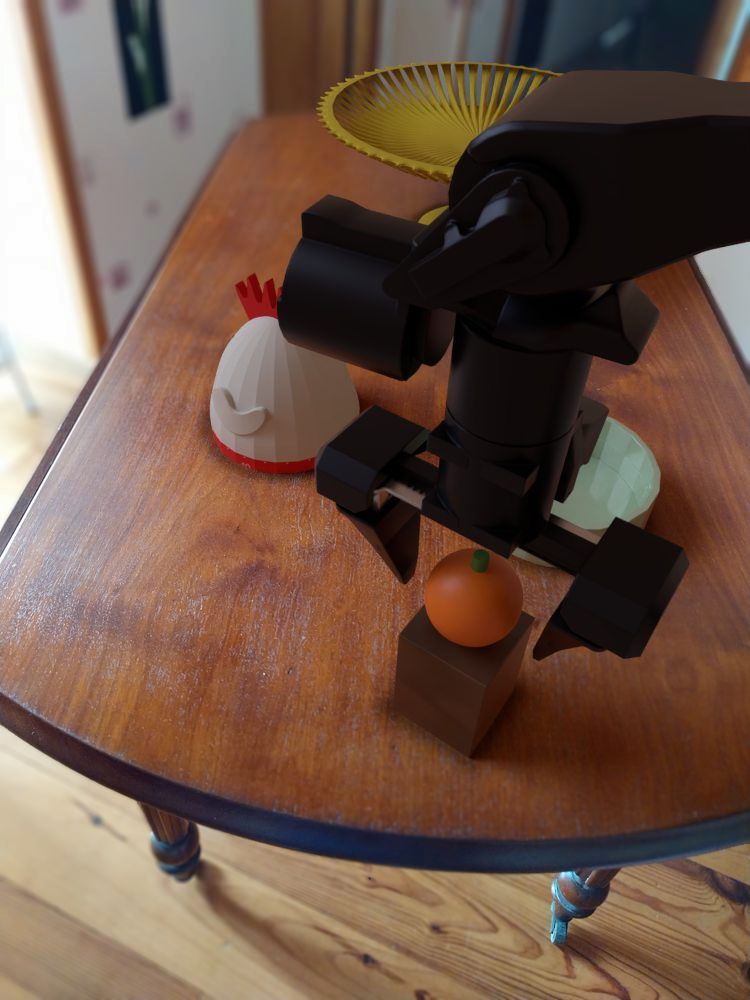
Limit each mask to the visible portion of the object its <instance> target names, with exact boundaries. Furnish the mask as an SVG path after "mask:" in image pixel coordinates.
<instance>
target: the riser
mask: <svg viewBox="0 0 750 1000" xmlns="http://www.w3.org/2000/svg"><path fill="white" fill-rule="evenodd" d="M535 620H536V617H535V616H533V615H531V614H530V613H528V612H527V611H525V610H522V612H521V614H520V617H519V620H518V622H517V623H516V625H515V626H514V628H513V629H512V630H511V631H510V632H509V633H508V634H507V635H506V636H505V637H504V638H502V639H501V640H499V641H497V642H495V643H493V644H490V645H487V646H482V647H468V646H463V645H459V644H457V643H454V642H452V641H450V640H448V639H447V638H445V637H444V636H443V635H442V634H440V633H439V631H438V630H437V629H436V628H435V627H434V625H433V624H432V623H431V621H430V619H429V617H428V614H427V611H426V607H425V603H424V604H423V605H422V606H421V607H420V608H419V609H418V611H417V612H416V613H415V614H414V615H413V617H412V618H411V619H410V620H409V621H408V622H407V624H406V625H405V626H404V627H403V629H402V630H401V631H400V632H399V633H398V638H397V639H398V641H397V653H396V662H395V663H396V664H395V675H394V676H395V677H394V688H393V699H392V709H393V710H394V711H396V712H398V713H399V715H400V714H401V715H402V716H403V717H405V718H407V719H408V720H409V721H411V722H412V723H414V724H415V725H417V726H419V727H420V728H422V729H423V730H425V732H426V731H427V732H428V733H429V734H431V735H432V736H434V737H435V738H437V739H439V740H440V741H442V742H443V743H445V744H446V745H448V746H449V747H451V748H452V749H454V750H455V751H457V752H458V753H460V754H462V755H463V756H464V757H466V758H468V759H469V758H471V756H472V755H473V753H474V752H475V750H476V749H477V747H478V746H479V744H480V743H481V741H482V740H483V738H484V737H485V735H486V734H487V732H488V731H489V729H490V727H491V726H492V724H493V723H494V721H495V720H496V719H497V717H498V715H499V714H500V712H501V711H502V709H503V708H504V706H505V705H506V704H507V702H508V700H509V699H510V697H511V696H512V694H513V693H514V690H515V686H516V684H517V680H518V676H519V673H520V670H521V667H522V663H523V660H524V656H525V654H526V650H527V647H528V643H529V640H530V637H531V634H532V630H533V627H534V624H535Z"/></svg>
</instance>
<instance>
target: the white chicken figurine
mask: <svg viewBox="0 0 750 1000" xmlns="http://www.w3.org/2000/svg"><path fill="white" fill-rule="evenodd" d="M260 284H261V283H260V281H259V279H258V276H257V273H255V272H253V273H251V274H250V275H247V277H246V283H245V282H244V281H243V279H242V280H240V281H238V282H237V283H235V284H234V288H235V292H236V294H237V297H238V299H239V301H240V303H241V306H242V307H243V310H244V312H245V314H246V316H247V318H248V321H247V322H245V324H243V325H242V326H241V327H240V328H239V330H238V331H237V332H236V333H235V334H233V335H232V336H231V339H230V341H229V342H228V343H227V345H226V347H225V349H224V351H223V352H222V355H221V358H220V360H219V363H218V366H217V370H216V373H215V377H214V382H213V386H212V391H211V394H210V402H209V418H210V422H211V423H210V425H211V431H212V435H213V436H212V437H213V442H215V444H216V445H217V447H218V448H219V450H220V451H221V453H222V454H223V455H224V456H226V457H227V458H229V460H231V461H232V462H234V463H235V464H238V465H240V466H243V467H245V468H248V469H250V470H254V471H257V472H264V473H270V474H292V473H295V474H297V473H302V472H306V471H310V470H315V466H314V461H315V459H316V456H317V454H318V452H319V450H320V448H321V447H322V446H323V445H324V444H325V443H326V442H327V441H329V440H330V439H331V438H332V437H333V436H335V435H336V434H337V433H338V432H339V431H340V430H342V429H343V428H344V427H345V426H346V425H347V424H349V423H350V422H351V421H352V420H353V419H355V418H356V417H357V416H358V415H359V414H360V413H361V411H360V410H361V409H360V401H359V397H358V392H357V390H356V386H355V384H354V381H353V379H352V375H351V373H350V371H349V368H348V366H347V363H346V362H343V361H340V360H337V359H334V358H331V357H328V356H325V355H322V354H319V353H316V352H313V351H310V350H307V349H305V348H302V347H299V346H296V345H293V344H291V343H289V342H288V341H287V340H286V339H285V338H284V337H283V334H282V332H281V330H280V328H279V323H278V318H277V299H278V297H279V296H280V295H281V294H282V286H283V284H282V285H280V286H279V287H278V289H277V292H276V286H275V281H274V278H273V277H270V278H269V279H267V280H266V281H265V282H264V283H263V287H261V285H260Z"/></svg>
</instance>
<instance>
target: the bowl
mask: <svg viewBox="0 0 750 1000" xmlns="http://www.w3.org/2000/svg"><path fill="white" fill-rule="evenodd" d="M661 475H662V472H661V469H660V467H659V465H658V462H657V460H656V457H655V454H654V452H653V450H652V449H651V448H650V447H649V446H648V445H647V444H646V442H644V440H643V439H642V438H641V437H640V436H639V435H638V433H636V432H635V431H633V430H632V429H631V428H629V427H627V426H626V425H624V424H623V423H622V422H620V421H619V420H618V419H615V418H613V417H611V416H607V418H606V421H605V423H604V426H603V428H602V431H601V433H600V436H599V438H598V441H597V443H596V446H595V448H594V451H593V453H592V456H591V458H590V460H589V462H588V463H587V464H586V465H584V464H583V465H582V466H581V467H580V469H579V473H578V476H577V479H576V483H575V486H574V489H573V491H572V493H571V494H570V495H569V497H568V498H567V499H566V501H565V502H564V503H563V504H562V503H560V502H558V501H555V500H554V502H553V506H552V509H551V513H552V514H554V515H556V516H558V517H560V518H562V519H565V520H567V521H569V522H571V523H573V524H575V525H577V526H579V527H581V528H583V529H585V530H587V531H590V532H592V533H594V534H596V535H598V536H603V534H604V533H605V531H606V530H607V529H608V527H609V526H610V524H611V523H612V521H613V520H614V518H615V517H618V518H621V519H623V520H625V521H627V522H629V523H631V524H634V525H636V526H638V527H640V528H642V529H644V530H645V528H646V525H647V523H648V520H649V518H650V515H651V513H652V510H653V508H654V506H655V503H656V501H657V499H658V496H659V494H660V492H661V491H660V490H661V477H662V476H661ZM512 555H513V556H514V557H516V558H519V559H521V560H523V561H527V562H528V563H529V562H530V563H532V564H536V565H540V566H543V567H548V568H553V569H554V568H556V569H558V568H557V567H555V566H553V565H551V564H549V563H547V562H545V561H543V560H541V559H539V558H537V557H535V556H533V555H531V554H529V553H527V552H525V551H523V550H521V549H519V548H516V549H515V551H514V552H513V553H512V554H511V556H512Z"/></svg>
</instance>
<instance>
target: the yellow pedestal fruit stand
mask: <svg viewBox="0 0 750 1000" xmlns="http://www.w3.org/2000/svg"><path fill="white" fill-rule="evenodd" d="M439 65H440V67H441V69H442V72H443V73H442V74H443V76H444V80H445V84H446V88H447V93H448V98H449V102H448V99H447V97H446V95H445V92H444V89H443V85H442V81H441V78H440V72H439V67H438V66H439ZM452 65H454V67H455V72H456V79H457V85H458V86H457V87H458V96H459V103H458V100H457V97H456V93H455V89H454V88H455V87H454V83H453V75H452ZM465 65H467V67H468V74H469V104H468V102H467V95H466V85H465V84H466V83H465ZM479 65H481V69H482V70H481V72H482V73H481V74H482V76H481V90H480V97H479V98H480V99H479V103H477V100H478V99H477V81H478V69H479ZM425 66H427V67H428V70H429V72H430V74H431V77H432V79H433V83H434V86H435V89H436V93H437V95H438V99H439V100H438V99H437V97H436V95H435V93H434V91H433V89H432V87H431V83H430V80H429V78H428V73H427V71H426V68H425ZM493 66H495V72H494V75H495V76H494V81H493V87H492V91H491V97H490V101H489V104H488V93H489V92H488V91H489V84H490V78H491V77H490V76H491V73H492V68H493ZM413 67H414V68H415V70H416V72H417V74H418V76H419V78H420V80H421V82H422V84H423V87H424V89H425V92H426V94H427V97H428V99H429V100H428V99H427V98H426V96H425V94H424V92H423V90H422V88H421V87H420V85H419V83H418V80H417V78H416V76H415V73H414V70H413ZM507 68H509V71H508V75H507V78H506V79H507V80H506V83H505V87H504V91H503V93H502V97H501V100H500V102H499V105H498V98H499V94H500V90H501V89H500V88H501V85H502V81H503V77H504V74H505V71H506V69H507ZM400 69H402V71H404V73H405V75H406V76H407V78H408V79H409V82H410V83H411V85H412V87H413V89H414V91H415V93H416V95H417V97H418V98H416V96H415V95H414V93H413V92H412V90H411V89H410V87H409V85H408V84H407V82H406V80H405V78H404V76H403V74H402V72H401V70H400ZM521 69H523V70H522V75H521V77H520V80H519V83H518V85H517V88H516V91H515V93H514V96H513V98H512V100H511V103H510V104H509V105H508V101H509V98H510V96H511V93H512V89H513V86H514V83H515V81H516V78H517V76H518V74H519V71H520V70H521ZM389 71H390V72H391V73H392V74H393V76H394V77H395V79H396V80H397V82H398V83H399V85H400V86H401V87H402V90H403V91H404V93H405V94H406V96H407V98H408V99H409V100H408V99H407V98H406V96H405V95H404V94H403V93H402V92H401V90H400V89H399V88H398V86H397V84H396V83H395V81H394V80H393V78H392V76H391V74H390V72H389ZM534 71H535V72H536V73H535V76H534V78H533V81H532V83H531V85H530V86H529V88H528V91H527V92H526V95H525V97H526V96H527V95H529V94H530V93H531V92H532V91H534V90H535V89H536V88H538V87H539V86H540V85H541V83H542V81H543V79H544V78H545V77H546V75H547V74H549V75H548V78H547V80H550V79H552V78H555V77H558V76H560V75H563V74H565V73H564V72H562V73H558V72H553V71H552V70H551V69H550V70H543V69H539V68H538V67H527V66H524V65H512V64H510V63H505V64H501V63H496V62H495V61H494V62H490V63H489V62H482V61H478V62H472V61H468V60H465V61H454V60H451V61H439V60H438V61H437V62H427V61H424V62H423V63H415V62H411V63H410V64H398V66H387V65H386V67H385V68H381V69H380V68H379V69H378V68H374V71H363V74H354V75H353V76H354V77H353V78H344V80H345V81H344V82H337V85H338V86H330V87H329V89H330V90H331V91H324V94H325V96H320V97H319V98H320V99H321V100H322V101H319V102H317V104H318V105H319V106H320V107H316V108H315V109H316V110H317V111H318V112H320V113H316V115H317V116H318V117H319V119H317V121H318V122H320V123H321V124H324V125H321V127H322V128H323V129H325V130H327V132H326V133H327V134H329V135H331V136H333V137H335V138H334V140H336V141H338V142H340V143H343V145H342V146H345V147H347V148H349V149H351V150H353V151H355V152H356V153H359V154H361V155H363V156H366V157H367V158H370V159H372V160H374V161H376V162H379V163H381V164H384V165H386V166H388V167H390V168H393V169H396V170H398V171H401V172H403V173H405V174H409V175H412V176H413V177H418V178H420V179H423V180H425V181H426V180H430V181H432V182H434V183H438V182H440V183H442V184H444V185H446V186H447V185H450V183H451V179H452V175H453V171H454V167H455V165H456V164H457V162H458V160H459V159H460V157H461V156H462V154H463V152H464V151H465V149H466V147H467V146H468V144H469V143H470V142H471V140H473V139H474V138H475V137H476V136H478V135H479V134H480V133H481V132H483V131H484V130H485V129H486V128H488V127H489V126H490V125H491V124H493V123H494V122H495V121H496V120H498V119H499V118H500V117H501V116H503V115H504V114H505V113H506V112H508V111H509V110H510V109H511V108H512V107H514V106H515V105H516V104H517V103H519V102H520V99H521V96H522V94H523V92H524V89H525V87H526V85H527V83H528V82H529V79H530V78H531V76H532V74H533V72H534ZM378 74H380V75H381V76H382V77H383V79H384V80H385V82H386V83H387V84H388V85H389V87H390V89H391V90H392V91H393V93H395V95H396V96H397V98H398V99H399V100H398V99H397V98H396V97H395V95H393V94H392V92H390V90H389V89H388V88H387V87H386V85H385V84H384V83H383V81H382V80H381V78H380V76H379V75H378ZM368 77H370V79H371V80H372V81H373V82H374V83H375V84H376V85H377V87H378V88H379V89H380V90H381V91H382V93H383V94H384V95H385V96H386V97H387V99H388V100H389V101H388V100H387V99H386V98H385V96H384V95H382V94H381V93H380V92H379V91H378V90H377V88H376V87H375V85H373V83H372V82H371V80H370V79H369V78H368ZM359 80H360V81H361V82H362V83H363V84H364V85H365V86H366V87H367V88H368V89H369V90H370V91H371V92H372V93H373V94H374V96H375V97H377V99H379V101H380V102H379V101H378V100H376V99H375V98H374V97H373V96H372V95H371V94H370V93H369V92H368V90H366V89H365V87H363V85H362V84H361V82H360V81H359ZM351 85H352V86H353V87H355V88H356V89H357V90H358V91H359V92H360V93H361V94H362V95H363V96H364V97H366V98H367V99H368V101H367V100H366V99H365V98H363V97H362V96H361V94H359V93H358V92H357V91H356V90H355V89H354V88H353V87H352V86H351ZM344 89H345V90H344ZM346 91H348V92H349V93H350V94H351V95H353V96H354V97H355V98H356V99H357V100H358V101H359V102H361V103H362V104H363V105H364V106H365V107H364V106H363V105H362V104H360V103H359V102H358V101H356V100H355V99H354V98H353V97H352V96H351V95H350V94H348V93H347V92H346ZM341 96H342V97H344V99H346V100H347V101H346V100H344V99H343V98H342V97H341ZM418 99H419V100H418ZM335 100H337V101H338V102H339V103H341V104H342V105H344V106H345V107H346V108H345V107H343V106H342V105H341V104H339V103H338V102H337V101H335ZM348 101H349V102H350V103H351V104H352V105H353V106H352V105H351V104H350V103H348ZM399 101H400V102H399ZM369 102H371V103H372V104H373V105H372V104H371V103H369ZM497 106H498V107H497ZM507 106H508V107H507ZM335 107H336V108H337V109H336V108H335ZM355 107H356V108H357V109H356V108H355ZM347 108H348V109H349V110H350V111H352V112H353V113H352V112H350V111H349V110H347ZM338 109H339V110H338ZM334 113H335V114H334ZM345 114H346V115H345ZM339 116H340V117H339ZM348 116H349V117H348ZM320 118H321V119H320ZM344 119H345V120H344ZM448 207H449V204H448V205H445V206H442V207H438V208H435V209H431V210H430V211H427V212H426V213H425V214H424V215H423V216H421V217H420V219H419V220H418V223H422V224H426V225H429V224H430V223H431V222H432V221H433V220H434V219H436V218H437V217H438V216H439V215H440V214H441V213H442V212H443V211H444V210H446V209H447V208H448Z"/></svg>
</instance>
